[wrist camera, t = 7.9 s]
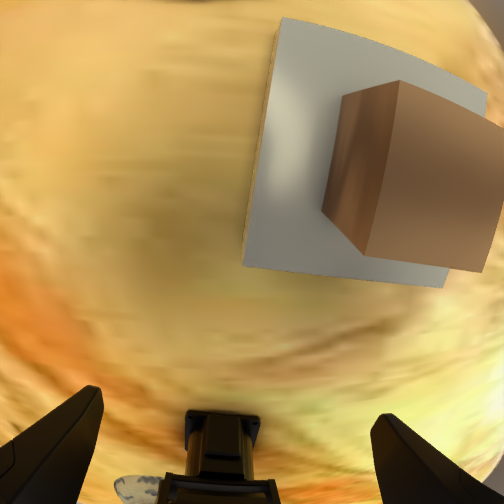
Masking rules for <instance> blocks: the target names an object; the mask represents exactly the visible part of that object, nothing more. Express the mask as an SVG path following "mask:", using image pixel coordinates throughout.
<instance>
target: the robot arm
mask: <svg viewBox="0 0 504 504" xmlns="http://www.w3.org/2000/svg"><path fill="white" fill-rule="evenodd" d="M103 411H104V403H103V397H102V391H101V389H100V388H99V387H96V386H92V385H87V386H85V387H84V388H83V389H81V390H80V391H79V392H77V393H76V394H74V395H73V396H72V397H70V398H69V399H68V400H66V401H65V402H63V403H62V404H61V405H59V406H58V407H56V408H55V409H54V410H52V411H51V412H50V413H48V414H47V415H45V416H44V417H43V418H41V419H40V420H38V421H37V422H36V423H34V424H33V425H32V426H30V427H29V428H27V429H26V430H25V431H23V432H22V433H20V434H19V435H18V436H16V437H15V438H13V440H10V441H9V442H8V443H6V444H5V445H3V446H2V447H0V504H76V502H77V500H78V497H79V494H80V491H81V488H82V485H83V482H84V479H85V476H86V473H87V470H88V467H89V464H90V462H91V459H92V456H93V453H94V449H95V445H96V441H97V437H98V432H99V428H100V424H101V420H102V416H103ZM260 424H261V423H260V418H258V417H252V416H237V415H225V414H215V413H205V412H197V411H187V412H186V416H185V450H186V451H187V461H186V470H185V475H177V474H173V473H169V472H166V475H165V479H163V480H160V481H159V487H158V493H157V497H156V500H155V503H154V504H281V502H280V498H279V494H278V490H277V486H276V482H275V479H268V480H254V471H253V454H252V450H253V447H254V444H255V441H256V437H257V434H258V431H259V427H260ZM370 437H371V444H372V451H373V458H374V466H375V471H376V476H377V480H378V484H379V488H380V493H381V497H382V501H383V504H504V496H502V495H501V494H499V493H497V492H496V491H494V490H492V489H490V488H489V487H487V486H485V485H484V484H483V483H481V482H479V481H478V480H476V479H475V478H473V477H472V476H471V475H469V474H468V473H467V472H465V471H464V470H463V469H461V468H459V466H457V465H456V464H455V463H454V462H452V461H451V460H450V459H449V458H447V457H446V456H445V455H443V454H442V453H441V452H440V451H438V450H437V449H436V448H435V447H433V446H432V445H431V444H430V443H428V442H427V441H426V440H425V439H423V438H422V437H421V436H420V435H418V434H417V433H416V432H415V431H413V430H412V429H411V428H410V427H408V426H407V425H406V424H405V423H403V422H402V421H401V420H400V419H399V418H397V417H396V416H395V415H394V414H392V413H386V414H381V415H380V416H379V417H378V419H377V420H376V422H375V423H374V425H373V427H372V428H371V432H370Z"/></svg>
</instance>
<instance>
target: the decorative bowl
mask: <svg viewBox="0 0 504 504" xmlns="http://www.w3.org/2000/svg"><path fill="white" fill-rule="evenodd" d="M163 479H165V478H163V477H157V476H148V475H129V476H123V477H120V478H118V479H117V480H116V481H115V482H114V488H115V490H116V493H117V495H118V496H119V498H120V499H121V501H122V502H123V503H124V504H154V503H155V500H156V497H157V493H158V487H159V481H160V480H163Z"/></svg>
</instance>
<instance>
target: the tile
mask: <svg viewBox="0 0 504 504" xmlns="http://www.w3.org/2000/svg"><path fill="white" fill-rule="evenodd" d="M397 80H402V81H404V82H407V83H410V84H412V85H415V86H417V87H420V88H422V89H425V90H427V91H429V92H432V93H434V94H436V95H439V96H441V97H443V98H445V99H447V100H450V101H452V102H454V103H456V104H458V105H460V106H462V107H464V108H466V109H468V110H470V111H472V112H474V113H476V114H478V115H480V116H482V117H483V118H485V112H486V103H487V93H486V92H485V91H483V90H481V89H479V88H478V87H476V86H474V85H472V84H471V83H469V82H467V81H465V80H463V79H461V78H459V77H457V76H455V75H453V74H452V73H450V72H447V71H445V70H443V69H441V68H439V67H437V66H435V65H433V64H431V63H428V62H426V61H424V60H422V59H419V58H417V57H415V56H412V55H410V54H407V53H405V52H402V51H400V50H397V49H395V48H392V47H389V46H387V45H384V44H381V43H378V42H375V41H373V40H370V39H367V38H363V37H360V36H357V35H354V34H351V33H347V32H344V31H340V30H337V29H333V28H329V27H325V26H321V25H317V24H313V23H309V22H304V21H300V20H295V19H290V18H285V17H282V19H281V21H280V24H279V26H278V29H277V31H276V33H275V39H274V45H273V51H272V57H271V63H270V69H269V75H268V81H267V87H266V93H265V99H264V105H263V112H262V118H261V124H260V130H259V137H258V143H257V149H256V156H255V162H254V168H253V175H252V181H251V188H250V194H249V201H248V207H247V214H246V220H245V227H244V234H243V240H242V266H246V267H254V268H262V269H270V270H279V271H287V272H296V273H305V274H313V275H322V276H331V277H340V278H349V279H358V280H367V281H376V282H386V283H395V284H405V285H415V286H424V287H434V288H443V286H444V283H445V280H446V277H447V275H448V272H449V269H450V268H444V267H438V266H431V265H424V264H417V263H410V262H403V261H396V260H389V259H382V258H375V257H368V256H364V255H363V254H362V253H361V252H360V251H359V250H358V249H357V248H356V247H355V246H354V245H353V244H352V243H351V242H350V240H349V239H348V238H347V237H346V236H345V235H344V234H343V233H342V232H341V231H340V230H339V229H338V228H337V227H336V226H335V225H334V224H333V223H332V222H331V221H330V220H329V219H328V218H327V217H326V216H325V215H324V214H323V213H322V212H321V210H322V205H323V200H324V196H325V191H326V186H327V181H328V175H329V170H330V165H331V160H332V154H333V149H334V143H335V138H336V132H337V126H338V120H339V114H340V108H341V102H342V96H343V95H346V94H349V93H352V92H356V91H359V90H363V89H366V88H370V87H374V86H377V85H381V84H385V83H389V82H393V81H397Z"/></svg>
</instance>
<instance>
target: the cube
mask: <svg viewBox="0 0 504 504" xmlns="http://www.w3.org/2000/svg"><path fill="white" fill-rule="evenodd" d="M503 201H504V129H503V128H501V127H500V126H498V125H496V124H494V123H493V122H491V121H489V120H487V119H485V118H483V117H482V116H480V115H478V114H476V113H474V112H472V111H470V110H468V109H466V108H464V107H462V106H460V105H458V104H456V103H454V102H452V101H450V100H447V99H445V98H443V97H441V96H439V95H436V94H434V93H432V92H429V91H427V90H425V89H422V88H420V87H417V86H415V85H412V84H410V83H407V82H404V81H402V80H397V81H393V82H389V83H385V84H381V85H377V86H374V87H370V88H366V89H363V90H359V91H356V92H352V93H349V94H346V95H343V96H342V102H341V108H340V114H339V120H338V126H337V132H336V138H335V143H334V149H333V154H332V160H331V165H330V170H329V175H328V181H327V186H326V191H325V196H324V200H323V205H322V210H321V212H322V213H323V214H324V215H325V216H326V217H327V218H328V219H329V220H330V221H331V222H332V223H333V224H334V225H335V226H336V227H337V228H338V229H339V230H340V231H341V232H342V233H343V234H344V235H345V236H346V237H347V238H348V239H349V240H350V242H351V243H352V244H353V245H354V246H355V247H356V248H357V249H358V250H359V251H360V252H361V253H362V254H363V255H364V256H368V257H375V258H382V259H389V260H396V261H403V262H410V263H417V264H424V265H431V266H438V267H444V268H451V269H458V270H465V271H471V272H478V273H482V271H483V268H484V265H485V262H486V259H487V256H488V253H489V250H490V247H491V244H492V241H493V238H494V234H495V231H496V227H497V224H498V220H499V217H500V213H501V209H502V205H503Z"/></svg>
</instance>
